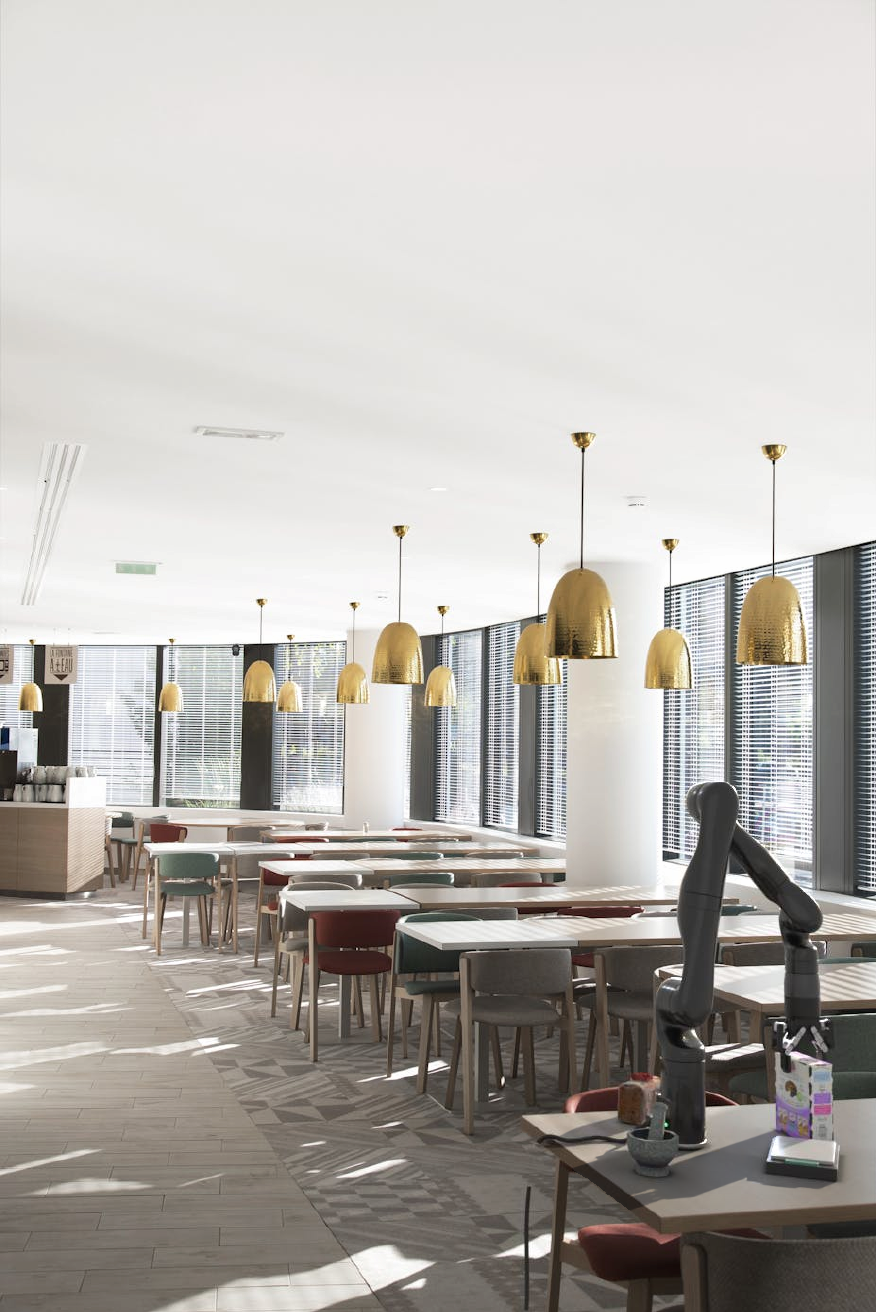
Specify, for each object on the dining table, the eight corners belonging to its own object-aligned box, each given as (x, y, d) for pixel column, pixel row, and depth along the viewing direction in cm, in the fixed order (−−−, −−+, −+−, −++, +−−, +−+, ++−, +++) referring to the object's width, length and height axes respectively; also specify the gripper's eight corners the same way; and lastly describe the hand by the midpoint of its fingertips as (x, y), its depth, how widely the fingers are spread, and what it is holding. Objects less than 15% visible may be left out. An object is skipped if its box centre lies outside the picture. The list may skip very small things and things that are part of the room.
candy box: (835, 1145, 261) (834, 1063, 263) (810, 1146, 260) (809, 1064, 261) (798, 1127, 274) (797, 1050, 276) (774, 1129, 273) (773, 1051, 275)
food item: (637, 1109, 288) (637, 1064, 289) (670, 1114, 284) (670, 1069, 285) (614, 1121, 277) (614, 1075, 278) (648, 1127, 272) (648, 1080, 274)
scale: (837, 1181, 237) (837, 1165, 237) (766, 1173, 241) (766, 1158, 241) (839, 1155, 254) (839, 1141, 254) (773, 1148, 258) (773, 1134, 258)
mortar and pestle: (669, 1182, 234) (669, 1115, 235) (620, 1174, 238) (621, 1109, 239) (685, 1167, 244) (685, 1103, 245) (638, 1159, 248) (639, 1097, 249)
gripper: (819, 989, 276) (821, 1065, 274) (763, 992, 271) (764, 1069, 270) (841, 994, 269) (842, 1072, 267) (784, 997, 264) (785, 1077, 263)
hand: (803, 1071), depth 269 cm, fingers open, 8 cm apart
